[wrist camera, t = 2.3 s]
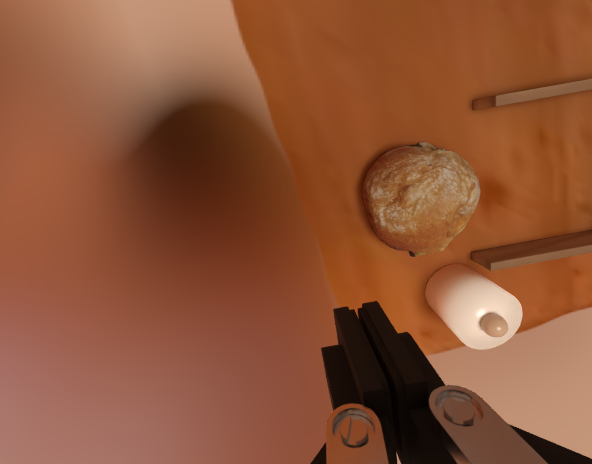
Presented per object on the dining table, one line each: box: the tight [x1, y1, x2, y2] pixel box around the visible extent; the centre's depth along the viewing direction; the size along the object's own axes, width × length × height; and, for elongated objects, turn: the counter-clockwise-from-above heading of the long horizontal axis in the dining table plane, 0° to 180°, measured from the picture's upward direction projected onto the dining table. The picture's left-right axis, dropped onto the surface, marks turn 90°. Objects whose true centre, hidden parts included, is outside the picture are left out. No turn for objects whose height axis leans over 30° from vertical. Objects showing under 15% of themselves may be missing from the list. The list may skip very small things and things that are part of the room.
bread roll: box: [362, 142, 480, 257], centre depth 27 cm, size 10×10×8 cm
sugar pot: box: [425, 264, 522, 349], centre depth 29 cm, size 6×6×8 cm
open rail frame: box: [471, 79, 592, 271], centre depth 28 cm, size 16×14×3 cm
